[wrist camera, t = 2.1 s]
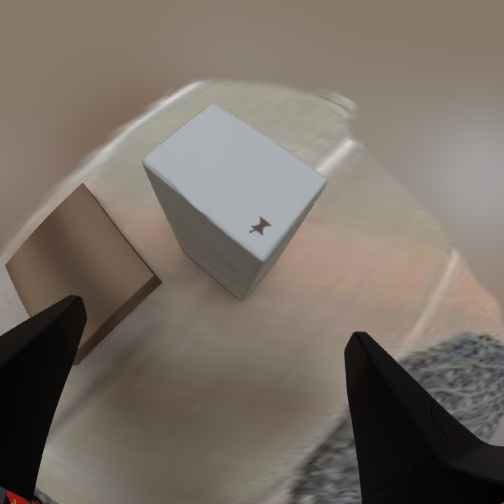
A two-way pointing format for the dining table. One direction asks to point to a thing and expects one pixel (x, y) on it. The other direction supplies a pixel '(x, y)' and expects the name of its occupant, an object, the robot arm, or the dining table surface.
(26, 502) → the race car
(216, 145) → the skincare box
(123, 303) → the walnut block
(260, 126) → the dining table surface
